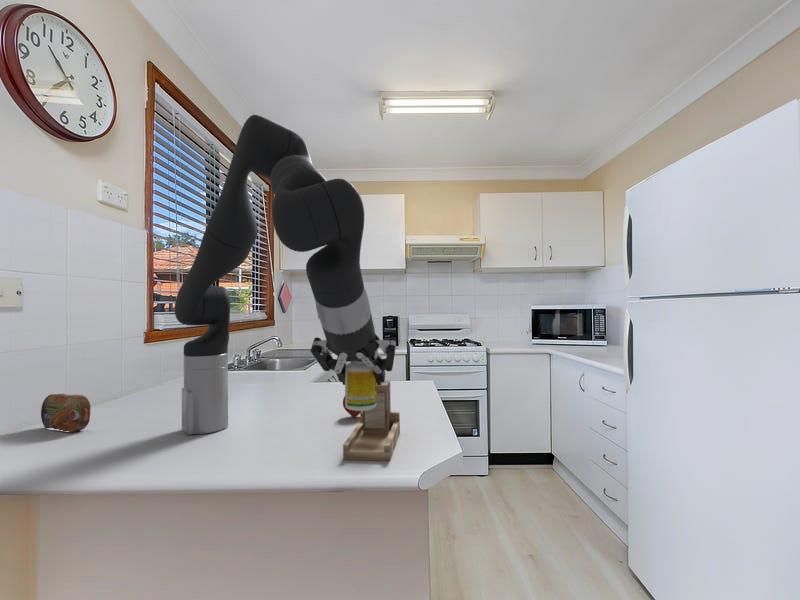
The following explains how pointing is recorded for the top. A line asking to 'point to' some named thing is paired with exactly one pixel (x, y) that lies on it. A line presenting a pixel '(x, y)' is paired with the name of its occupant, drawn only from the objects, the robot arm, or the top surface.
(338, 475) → the top surface
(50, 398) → the tin
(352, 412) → the onion
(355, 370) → the supplement bottle
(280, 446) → the top surface
